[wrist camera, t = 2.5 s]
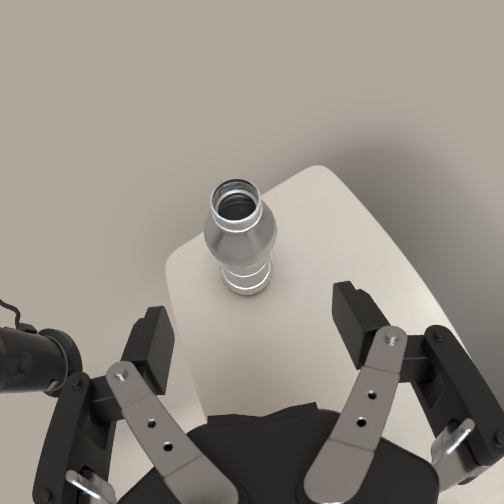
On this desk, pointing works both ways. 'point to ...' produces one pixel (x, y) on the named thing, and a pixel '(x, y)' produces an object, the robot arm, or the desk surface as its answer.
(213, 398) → the desk surface
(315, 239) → the desk surface
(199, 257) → the desk surface
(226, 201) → the silver bottle
